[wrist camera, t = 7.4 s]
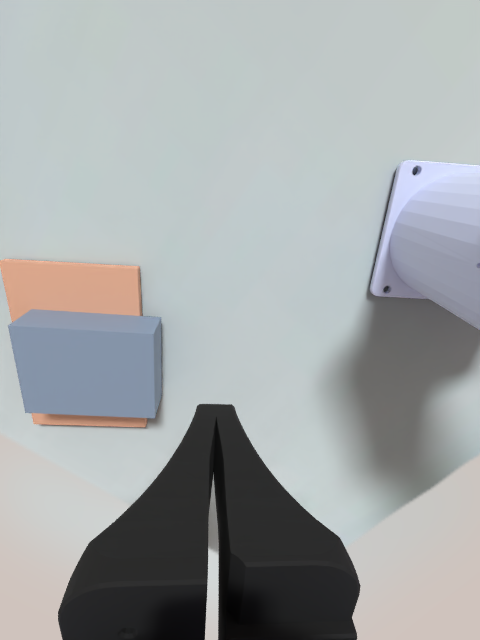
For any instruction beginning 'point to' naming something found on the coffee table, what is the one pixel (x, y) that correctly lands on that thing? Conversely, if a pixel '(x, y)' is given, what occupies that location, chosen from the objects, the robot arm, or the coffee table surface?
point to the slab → (88, 363)
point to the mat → (73, 306)
